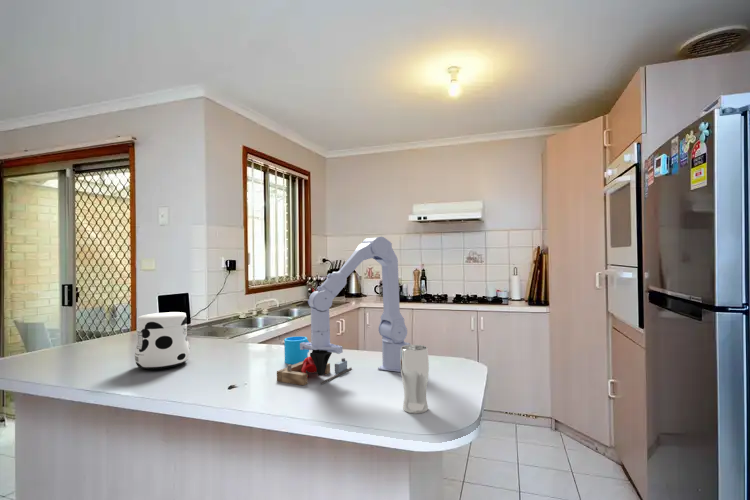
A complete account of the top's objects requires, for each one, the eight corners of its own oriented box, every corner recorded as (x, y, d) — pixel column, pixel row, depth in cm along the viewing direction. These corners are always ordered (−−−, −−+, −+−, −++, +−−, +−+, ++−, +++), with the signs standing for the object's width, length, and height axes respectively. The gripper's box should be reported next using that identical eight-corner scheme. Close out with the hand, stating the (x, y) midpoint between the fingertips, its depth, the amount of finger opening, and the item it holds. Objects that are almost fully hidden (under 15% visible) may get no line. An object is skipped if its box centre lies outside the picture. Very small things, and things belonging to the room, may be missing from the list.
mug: (298, 365, 141) (297, 341, 141) (279, 362, 145) (279, 340, 145) (318, 357, 152) (317, 335, 152) (300, 355, 155) (300, 333, 156)
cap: (324, 364, 124) (323, 351, 129) (304, 362, 123) (305, 349, 128) (318, 384, 127) (318, 370, 133) (299, 382, 126) (300, 368, 131)
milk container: (199, 359, 152) (198, 311, 152) (171, 373, 134) (170, 318, 135) (155, 359, 153) (155, 311, 153) (122, 372, 136) (122, 319, 136)
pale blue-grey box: (347, 369, 133) (347, 358, 133) (339, 373, 129) (338, 361, 129) (343, 369, 134) (342, 357, 134) (334, 373, 130) (334, 361, 130)
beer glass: (399, 404, 102) (398, 344, 102) (426, 403, 103) (425, 343, 103) (403, 415, 95) (402, 351, 96) (432, 413, 96) (431, 350, 96)
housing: (351, 369, 134) (351, 355, 134) (315, 387, 117) (315, 371, 117) (315, 364, 141) (315, 351, 141) (276, 381, 123) (276, 366, 123)
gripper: (293, 331, 124) (294, 375, 124) (333, 334, 118) (334, 381, 117) (307, 327, 130) (308, 369, 130) (345, 330, 124) (346, 374, 124)
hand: (321, 374), depth 124 cm, fingers closed
